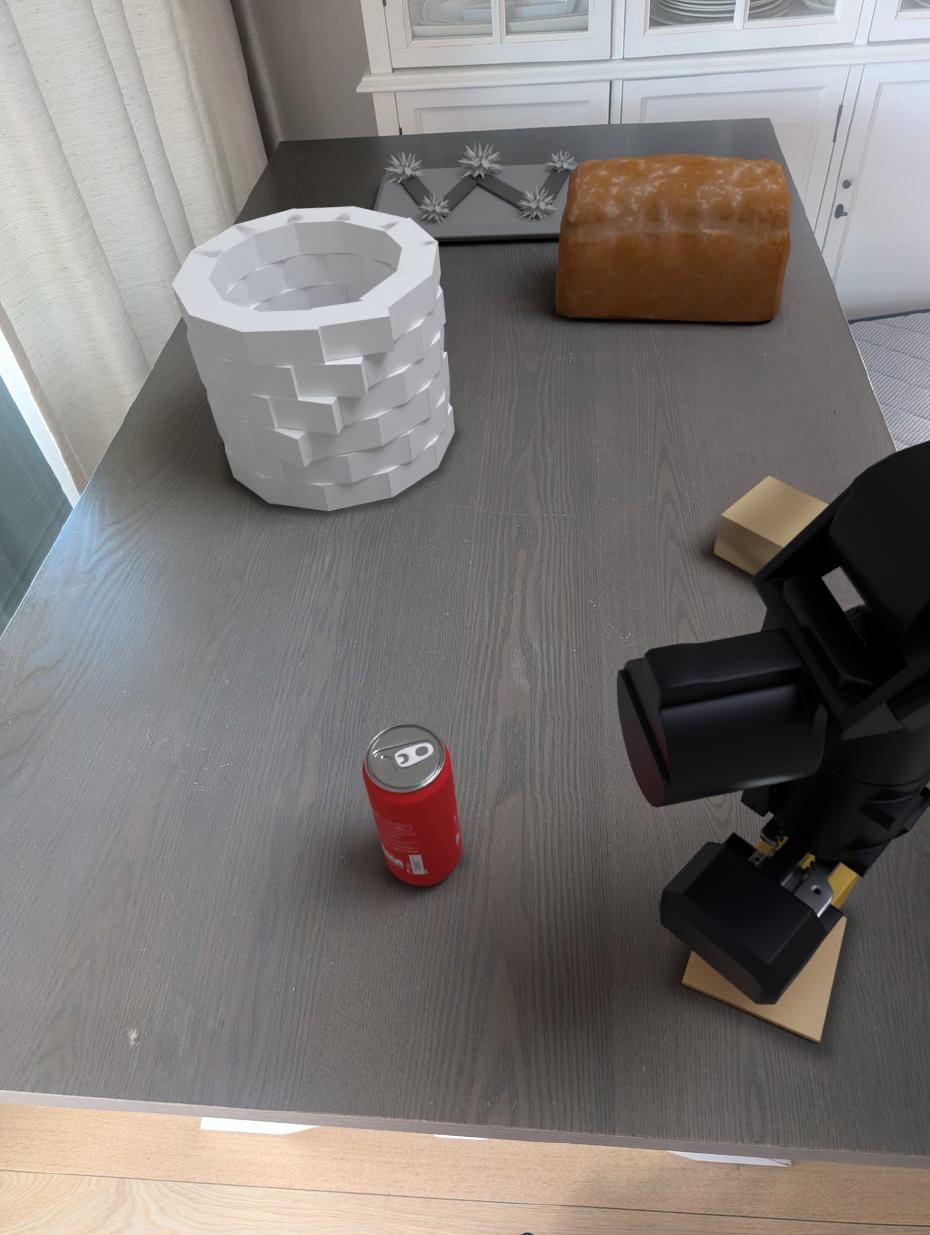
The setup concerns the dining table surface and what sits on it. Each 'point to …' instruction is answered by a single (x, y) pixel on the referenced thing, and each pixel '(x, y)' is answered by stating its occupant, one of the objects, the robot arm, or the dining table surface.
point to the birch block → (764, 523)
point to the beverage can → (413, 803)
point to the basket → (322, 353)
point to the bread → (674, 239)
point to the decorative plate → (479, 197)
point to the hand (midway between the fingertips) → (792, 894)
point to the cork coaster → (800, 1001)
